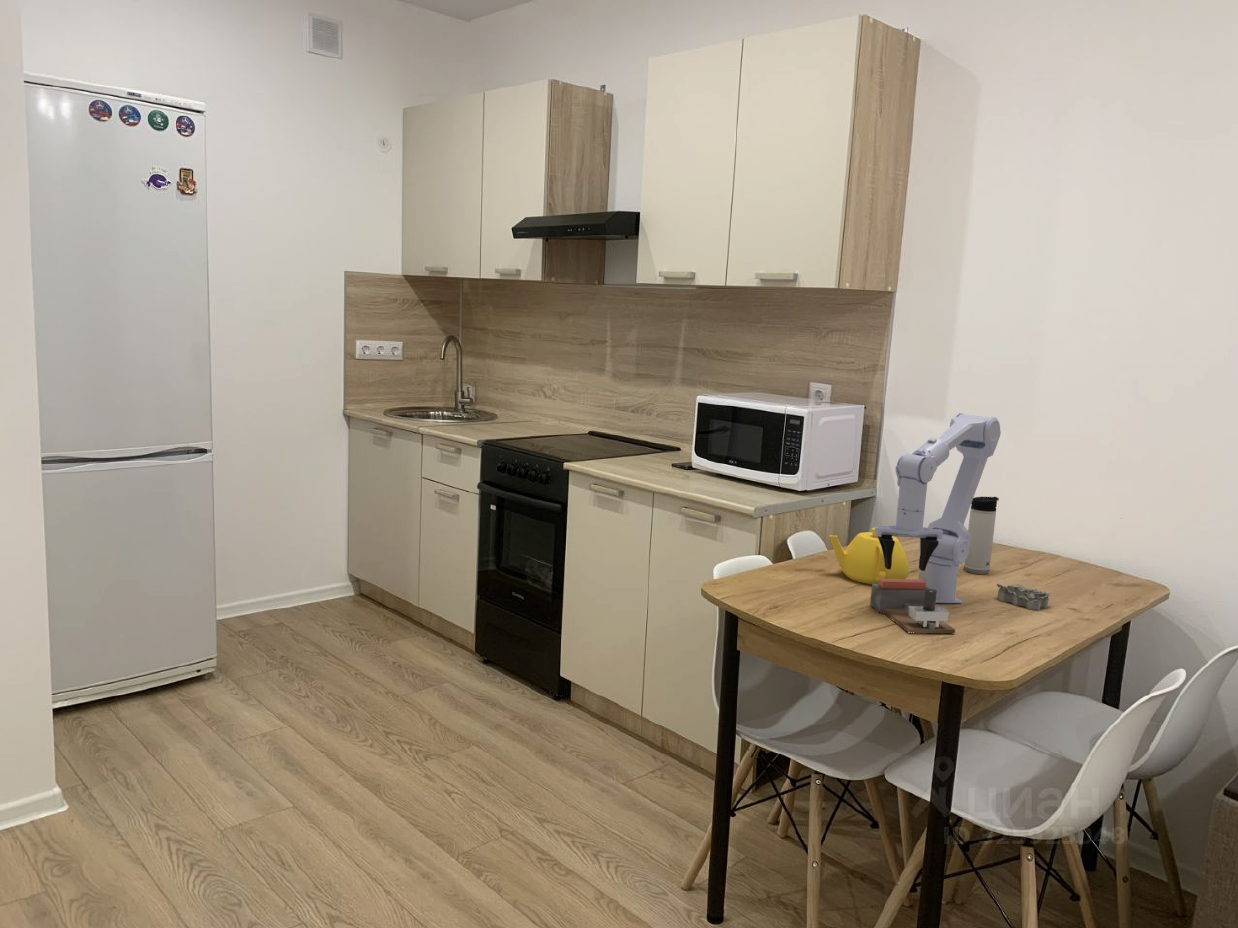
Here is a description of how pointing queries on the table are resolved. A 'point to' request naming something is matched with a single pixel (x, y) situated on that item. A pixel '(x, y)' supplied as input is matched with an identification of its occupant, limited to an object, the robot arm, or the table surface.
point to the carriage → (928, 610)
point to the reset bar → (902, 583)
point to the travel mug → (981, 534)
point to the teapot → (870, 559)
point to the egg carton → (1023, 596)
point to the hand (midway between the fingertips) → (904, 568)
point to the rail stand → (904, 608)
